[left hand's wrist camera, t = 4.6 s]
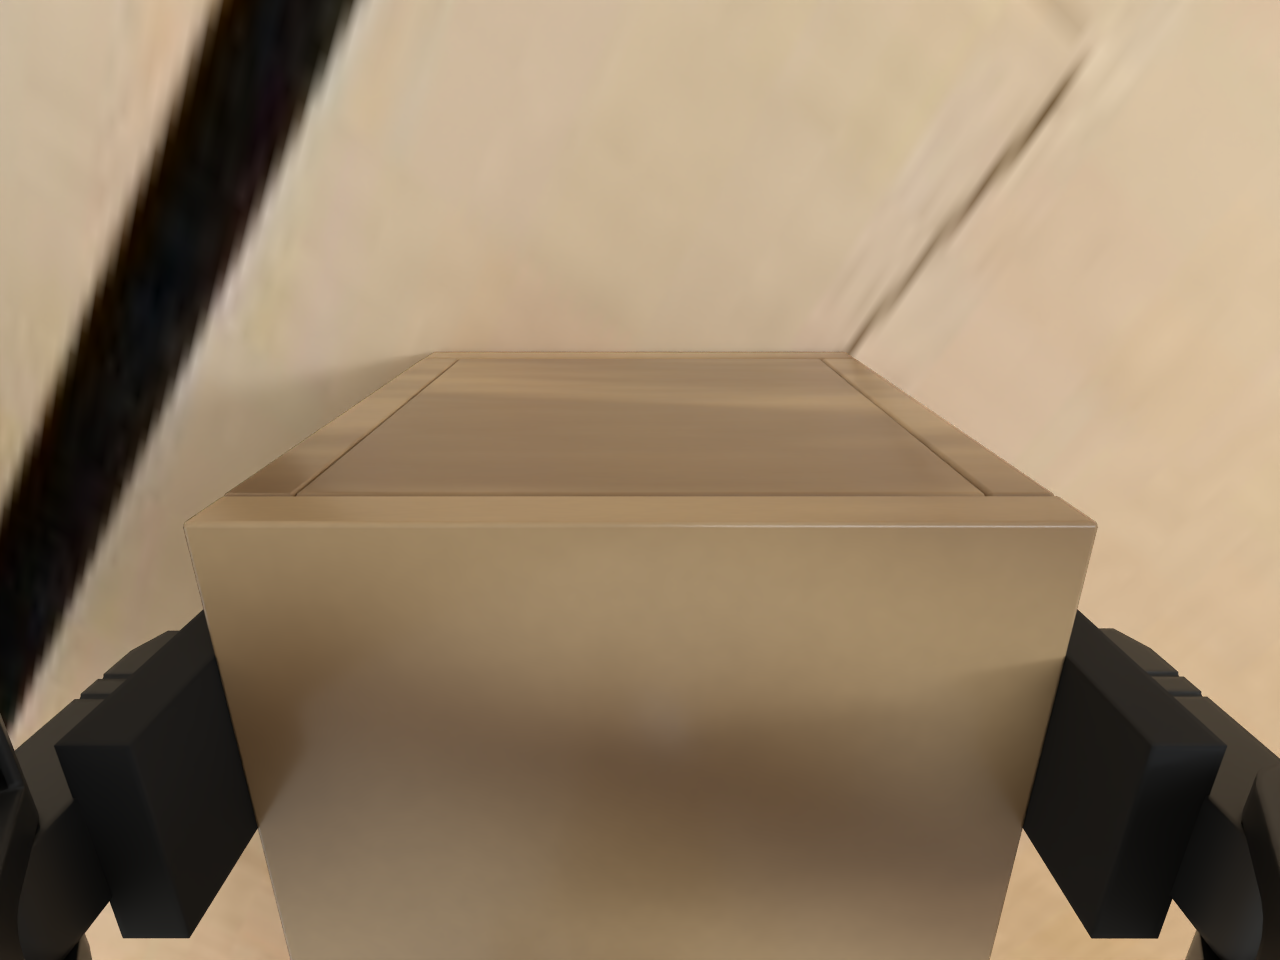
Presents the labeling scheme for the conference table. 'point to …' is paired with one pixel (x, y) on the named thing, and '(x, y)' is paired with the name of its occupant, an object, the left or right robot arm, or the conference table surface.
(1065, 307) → the conference table surface
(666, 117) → the conference table surface
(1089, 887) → the left robot arm
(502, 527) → the cabinet
